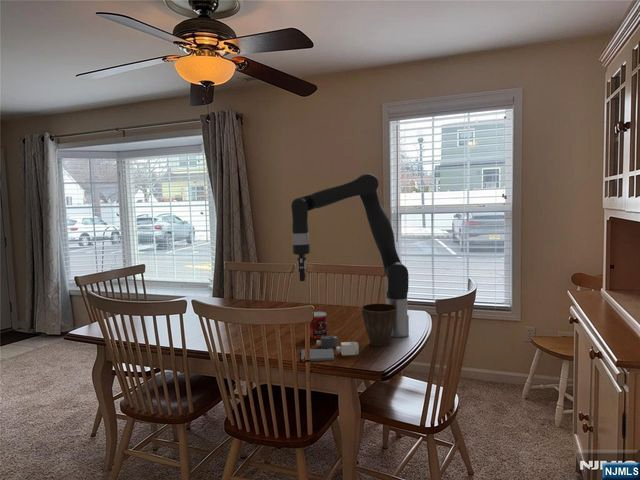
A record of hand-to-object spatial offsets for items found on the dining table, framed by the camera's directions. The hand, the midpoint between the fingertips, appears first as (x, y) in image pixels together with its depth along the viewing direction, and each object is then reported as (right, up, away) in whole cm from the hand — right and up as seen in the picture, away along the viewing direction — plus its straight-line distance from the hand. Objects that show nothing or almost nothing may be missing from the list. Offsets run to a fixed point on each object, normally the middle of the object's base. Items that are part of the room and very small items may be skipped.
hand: (302, 279), depth 200 cm
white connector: (+19, -29, -18) cm, 39 cm away
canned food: (+7, -27, +5) cm, 29 cm away
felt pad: (+7, -29, -19) cm, 36 cm away
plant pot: (+34, -27, -6) cm, 44 cm away
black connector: (+11, -28, -9) cm, 31 cm away
